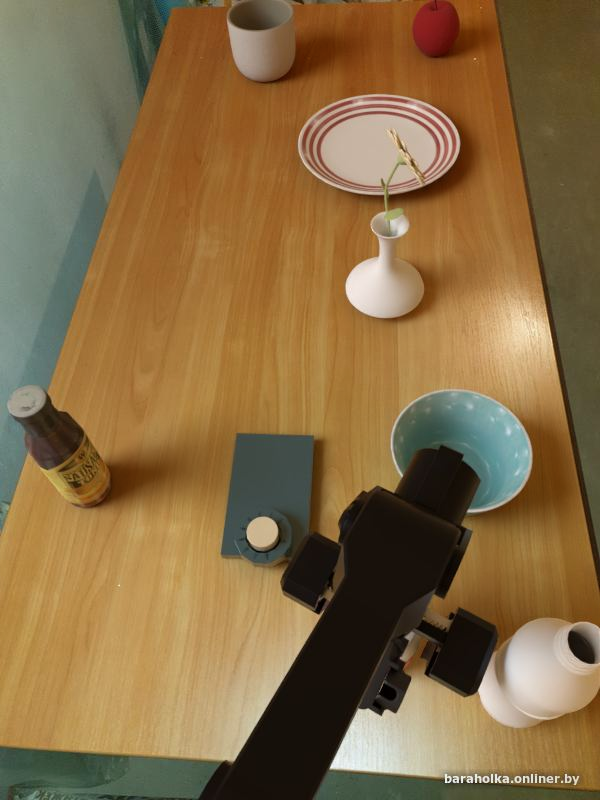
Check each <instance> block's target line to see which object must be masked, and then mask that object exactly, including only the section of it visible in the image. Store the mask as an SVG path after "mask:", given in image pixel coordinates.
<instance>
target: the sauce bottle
mask: <svg viewBox="0 0 600 800" xmlns="http://www.w3.org/2000/svg"><path fill="white" fill-rule="evenodd" d="M6 406H7V410H8V412H9V414H10V416H11V418H12V419H13V420H14V421H15V422H16V423H19V424H20V426H21V427H22V429H23V430H24V436H23V439H24V446H25V449H26V451H27V452H28V453H29V455H30V456H31V457H32V459H33V462H34V463H35V464H36V465H37V466H38V468H39V469H40V470H41V471H42V473H43V474H44V475H45V476H46V477H47V479H48V480H49V482H51V484H52V485H53V486H54V488H55V489H56V491H58V493H59V494H60V495H61V496H62V498H64V499H65V500H66V501H68V502H69V503H70V504H71V505H72V506H73V507H77V508H80V509H81V508H83V509H86V508H91V507H94V506H95V505H97V504H100V503H101V502H102V501H103V500H105V498H106V497H107V496H108V495H109V492H110V490H111V487H112V476H111V473H110V470H109V468H108V466H107V465H106V462H104V460H103V458H102V457H101V455H100V453H99V452H98V450H97V449H96V447H95V446H94V444H93V442H92V441H91V440H90V437H89V436H88V434H87V433H86V432H85V429H84V428H83V427H82V425H80V424H79V423H78V422H77V420H75V419H74V417H73V416H72V415H71V414H70V413H68V412H67V411H65V410H64V411H63V410H58V409H57V407H55V405H54V404H53V402H52V398H51V396H50V395H49V393H48V392H47V391H46V390H45V389H44V388H43V387H42V386H40V385H37V384H27V385H23V386H22V387H19V388H17V389H16V390H14V392H13V393H12V394H11V395H10V397H9V398H8V399H7V404H6Z"/></svg>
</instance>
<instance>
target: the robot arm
mask: <svg viewBox="0 0 600 800" xmlns="http://www.w3.org/2000/svg"><path fill="white" fill-rule="evenodd" d="M463 457H464V454H462V453H460V452H458V451H456V450H453V449H451V448H449V447H447V446H444V445H442V444H441V445H440V447H439V449H432V448H423V449H419V450H418V451H415V453H414V455H413V457H412V459H411V461H410V463H409V465H408V467H407V469H406V471H405V473H404V475H403V477H402V478H401V477H400V478H401V479H400V481H399V482H398V484H397V486H396V488H395V490H394V492H393V491H390V490H389V489H387V488H385V487H382V486H381V485H377V484H376V486H374V487H373V488H371V489H370V490H368V491H367V490H364V489H362V490H361V491H360V492H359V494H358V495H357V496H356V497H355V498H354V499H353V500H352V502H351V503H349V504H348V505H347V507H346V508H345V509H343V511H342V513H341V515H340V517H339V519H338V522H337V526H338V530H339V534H338V539H337V541H335V540H332V539H331V538H328V537H327V536H324V535H322V534H321V533H319V532H317V531H313V532H311V533H310V532H309V534H308V535H306V536H305V537H304V538H303V540H302V542H301V544H300V545H299V547H298V549H297V551H296V552H295V554H294V556H293V558H292V559H291V561H289V563H288V565H287V566H286V568H285V570H284V571H283V573H282V575H281V578H280V580H279V585H280V588H281V591H282V595H283V596H284V597H286V598H287V599H289V600H290V601H291V600H292V601H293V602H294V603H297V604H298V605H300V606H302V607H303V608H305V609H307V610H309V611H311V612H313V613H315V614H316V615H318V616H320V615H321V616H320V617H319V619H318V620H317V622H316V623H315V625H314V627H313V628H312V631H311V632H310V634H309V635H308V637H307V638H306V640H305V642H304V644H303V645H302V647H301V649H300V650H299V652H298V654H297V655H296V657H295V659H294V661H293V662H292V663H291V666H290V667H289V668H288V671H287V672H286V673H285V675H284V677H283V679H282V681H281V682H280V684H279V685H278V687H277V689H276V691H275V692H274V694H273V696H272V697H271V699H270V700H269V702H268V704H267V705H266V707H265V708H264V711H263V712H262V714H261V716H260V718H259V719H258V721H257V722H256V724H255V725H254V727H253V729H252V731H251V732H250V733H249V735H248V737H247V738H246V741H245V742H244V744H243V745H242V747H241V749H240V751H239V752H238V754H237V756H236V758H235V759H234V760H233V763H232V762H230V761H229V760H227V759H225V760H224V761H222V762H221V763H220V764H219V765H218V767H217V768H216V770H214V772H213V774H212V775H211V777H210V778H209V779H208V781H207V782H206V784H205V786H204V788H203V789H202V791H201V793H200V794H199V796H198V798H197V800H316V798H317V796H318V793H319V791H320V789H321V787H322V785H323V783H324V781H325V779H326V777H327V775H328V772H329V770H330V769H331V766H332V764H333V763H334V760H335V758H336V756H337V754H338V752H339V749H340V748H341V745H342V743H343V742H344V740H345V737H346V735H347V733H348V731H349V729H350V727H351V725H352V724H353V723H352V722H353V720H354V719H355V717H356V714H357V712H358V710H370V711H371V712H373V713H374V714H376V715H378V716H379V717H382V716H383V715H384V712H385V711H390V712H391V713H393V714H397V713H398V712H399V710H400V709H401V705H402V703H403V701H404V699H405V696H406V694H407V692H408V689H409V687H410V684H411V682H412V676H411V675H409V674H408V673H406V672H405V671H404V670H405V669H404V670H403V668H404V666H405V664H406V662H405V661H402V660H401V659H400V657H402V656H403V654H404V651H405V649H406V647H407V645H408V643H409V640H408V639H406V638H405V636H407V635H408V634H409V633H410V632H411V631H412V632H414V633H416V634H417V635H419V636H421V638H423V639H425V640H426V642H425V645H424V647H423V649H422V651H421V652H420V655H419V659H421V660H422V661H425V668H424V673H423V675H424V676H425V677H428V678H429V679H431V680H433V681H434V682H436V683H437V684H440V685H442V686H443V687H445V688H446V689H448V690H450V691H451V692H453V693H455V694H457V695H459V696H461V697H463V698H468V697H471V696H474V695H475V694H476V693H478V692H479V691H478V689H479V687H480V685H481V683H482V680H483V677H484V675H485V672H486V670H487V667H488V665H489V662H490V660H491V657H492V654H493V653H494V652H495V649H496V647H497V645H498V642H499V637H500V635H499V632H498V629H497V625H495V624H493V623H491V622H490V621H487V620H486V619H483V618H482V617H480V616H478V615H476V614H474V613H472V612H470V611H469V610H466V609H464V608H462V607H461V606H458V607H457V609H456V610H455V612H453V611H450V613H448V615H447V616H446V617H445V616H443V615H441V614H439V613H437V612H436V611H433V610H432V609H430V608H429V606H430V603H431V601H432V599H433V597H434V596H436V597H437V598H439V599H441V600H445V598H446V597H447V594H448V592H449V590H450V588H451V586H452V584H453V583H454V580H455V576H456V575H457V573H458V571H459V568H460V566H461V564H462V561H463V560H464V558H465V557H464V556H465V555H466V552H467V549H468V547H469V544H470V541H471V538H472V535H473V533H474V530H471V529H470V528H468V527H466V526H463V525H462V524H463V523H464V520H465V518H466V517H467V516H466V513H467V511H468V509H469V507H470V505H471V502H472V500H473V498H474V496H475V494H476V491H477V489H478V487H479V485H480V482H481V479H480V478H479V476H478V475H477V473H476V472H475V471H474V470H473V468H472V467H471V466H469V465H468V464H467V463H466V462H464V461H463V460H462V459H463ZM432 623H433V624H432ZM436 625H437V626H436ZM388 671H389V672H388ZM387 673H388V674H387Z"/></svg>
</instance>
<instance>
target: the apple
mask: <svg viewBox="0 0 600 800" xmlns="http://www.w3.org/2000/svg"><path fill="white" fill-rule="evenodd" d="M457 11H458V10H457V9H456V7H455V6H454V4H453V3H452V2H450V1H447V0H431V1H428V2H426V3H424V4H423V5H422V6H421V7H420V8H419V9H418V11H417V13H415V16H414V19H413V22H412V26H411V27H412V29H411V30H412V33H411V34H412V37H413V41H414V43H415V45H416V47H417V48H418V49H419V51H420V52H421V53H422V54H424V55H425V56H428V57H439V56H442V55H444V54H445V53H447V52H449V51H450V50H451V49H452V48H453V46H454V44H455V43H456V41H457V39H458V36H459V34H460V28H461V27H460V26H461V23H460V17H459V13H458V12H457Z"/></svg>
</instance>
